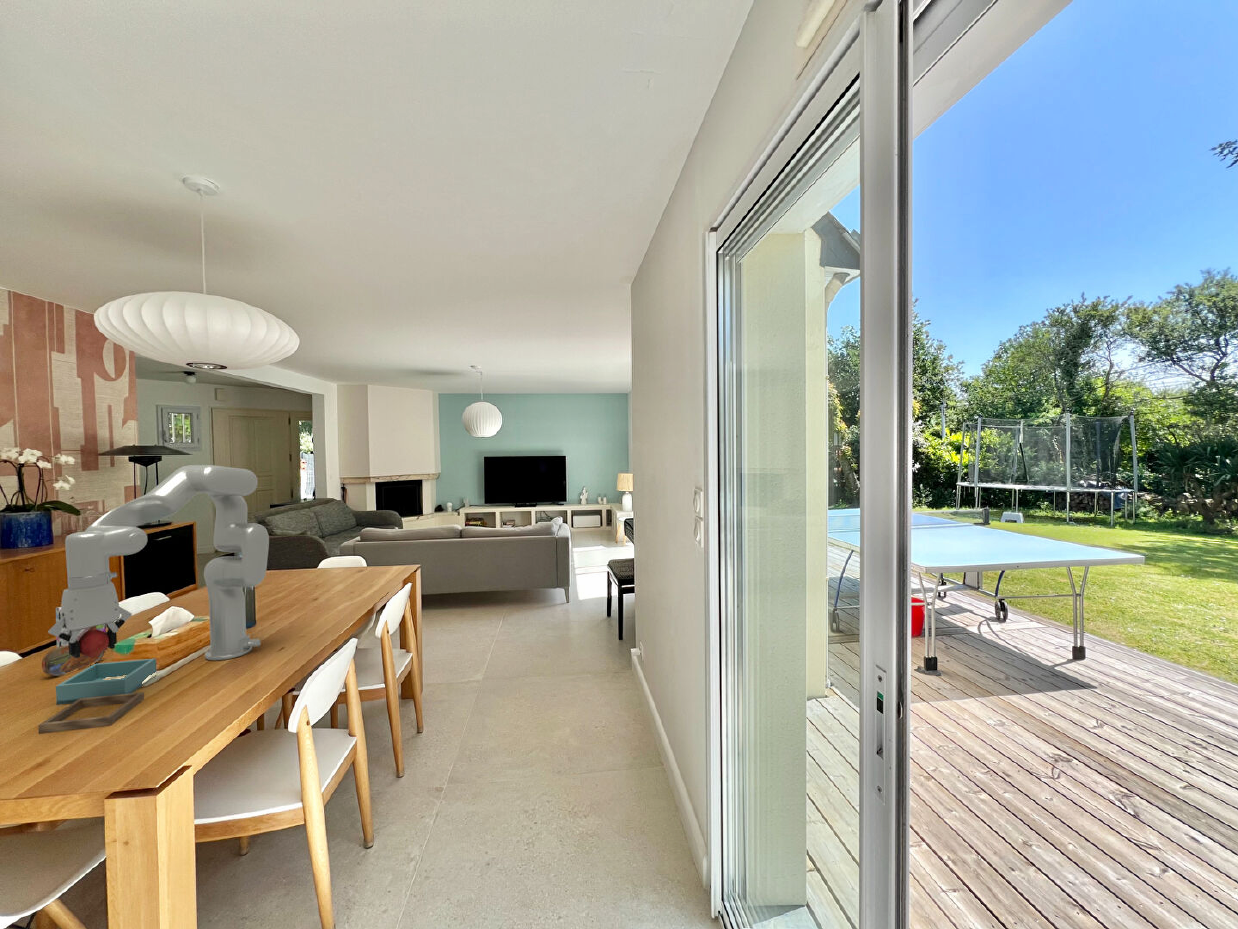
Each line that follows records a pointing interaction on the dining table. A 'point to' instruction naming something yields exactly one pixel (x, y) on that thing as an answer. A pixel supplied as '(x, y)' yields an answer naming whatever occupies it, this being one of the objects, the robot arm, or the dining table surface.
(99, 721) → the frame
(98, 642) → the onion
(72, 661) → the tin
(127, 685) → the bin
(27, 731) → the dining table surface
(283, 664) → the dining table surface
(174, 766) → the dining table surface
